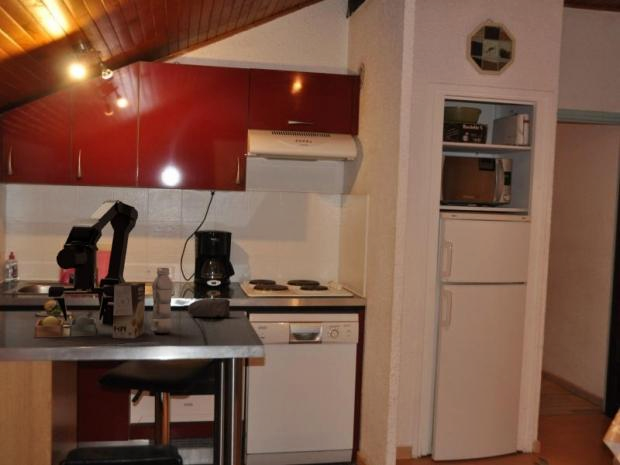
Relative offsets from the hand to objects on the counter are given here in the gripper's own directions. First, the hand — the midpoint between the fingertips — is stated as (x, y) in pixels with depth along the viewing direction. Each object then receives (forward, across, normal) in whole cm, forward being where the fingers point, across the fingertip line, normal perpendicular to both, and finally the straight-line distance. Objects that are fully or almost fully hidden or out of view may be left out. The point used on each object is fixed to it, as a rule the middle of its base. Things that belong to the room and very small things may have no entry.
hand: (83, 320), depth 170 cm
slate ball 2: (+4, 0, 0) cm, 4 cm away
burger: (+5, +10, -38) cm, 39 cm away
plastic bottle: (+5, -22, -2) cm, 23 cm away
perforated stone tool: (+5, -42, -29) cm, 52 cm away
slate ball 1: (+4, 0, -5) cm, 7 cm away
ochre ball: (+4, +9, -5) cm, 11 cm away
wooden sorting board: (+5, +4, -7) cm, 9 cm away
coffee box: (+5, -12, +4) cm, 14 cm away
